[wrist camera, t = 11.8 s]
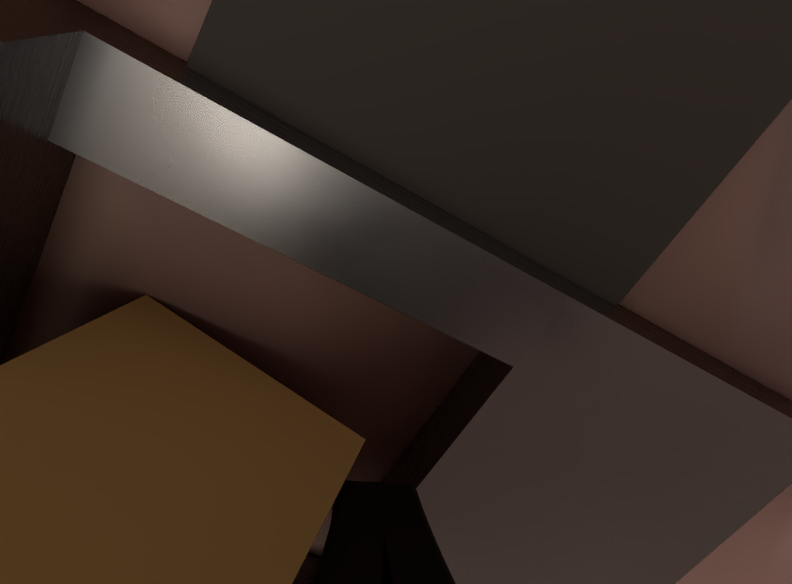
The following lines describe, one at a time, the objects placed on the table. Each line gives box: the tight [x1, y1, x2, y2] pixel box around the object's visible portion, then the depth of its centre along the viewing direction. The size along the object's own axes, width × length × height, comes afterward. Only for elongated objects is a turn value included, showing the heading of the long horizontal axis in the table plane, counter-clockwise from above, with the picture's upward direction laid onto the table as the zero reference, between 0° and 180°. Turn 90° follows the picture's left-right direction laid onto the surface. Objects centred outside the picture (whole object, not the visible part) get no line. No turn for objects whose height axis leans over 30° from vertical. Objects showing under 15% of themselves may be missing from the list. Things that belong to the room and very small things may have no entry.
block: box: [0, 295, 366, 584], centre depth 8 cm, size 4×4×6 cm
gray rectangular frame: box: [0, 0, 792, 584], centre depth 10 cm, size 15×10×3 cm, turn 59°
